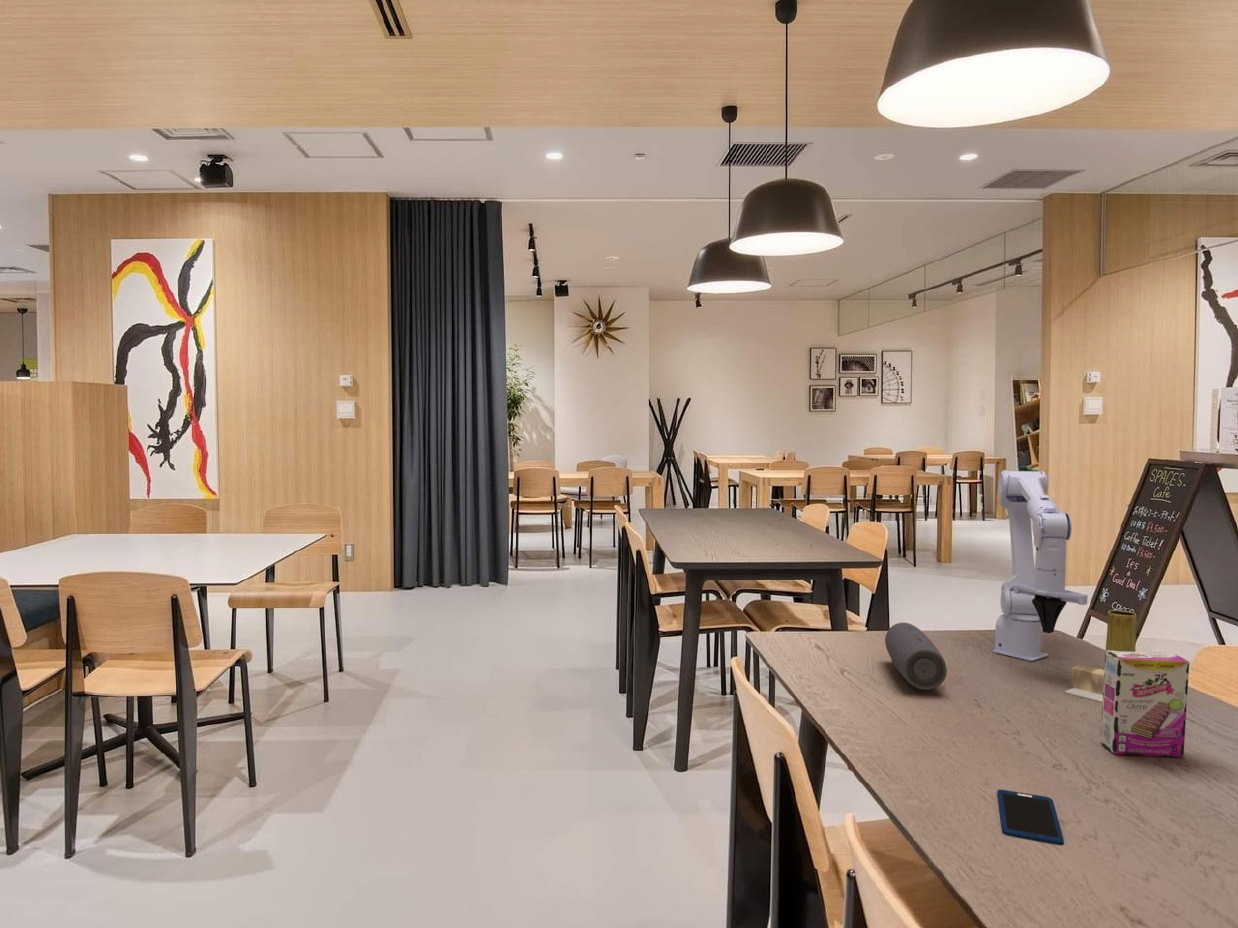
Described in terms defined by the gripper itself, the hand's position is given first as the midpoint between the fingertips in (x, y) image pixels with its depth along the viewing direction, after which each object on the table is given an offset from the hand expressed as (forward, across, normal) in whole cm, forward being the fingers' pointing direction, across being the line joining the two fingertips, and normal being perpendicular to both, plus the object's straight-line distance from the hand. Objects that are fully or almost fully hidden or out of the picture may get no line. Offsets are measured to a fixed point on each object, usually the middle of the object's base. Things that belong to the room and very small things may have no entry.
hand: (1048, 631), depth 171 cm
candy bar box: (+10, +28, -26) cm, 40 cm away
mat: (+10, +11, 0) cm, 15 cm away
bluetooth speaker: (+10, -17, -23) cm, 30 cm away
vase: (+10, +9, +14) cm, 20 cm away
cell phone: (+11, +28, -64) cm, 71 cm away
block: (+8, +6, 0) cm, 10 cm away
